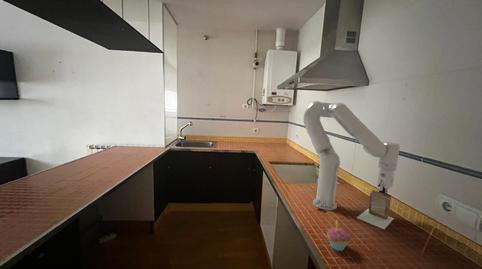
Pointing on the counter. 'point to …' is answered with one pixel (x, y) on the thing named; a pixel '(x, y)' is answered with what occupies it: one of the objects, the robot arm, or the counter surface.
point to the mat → (375, 219)
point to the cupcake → (338, 238)
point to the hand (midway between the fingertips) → (382, 199)
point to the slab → (379, 204)
